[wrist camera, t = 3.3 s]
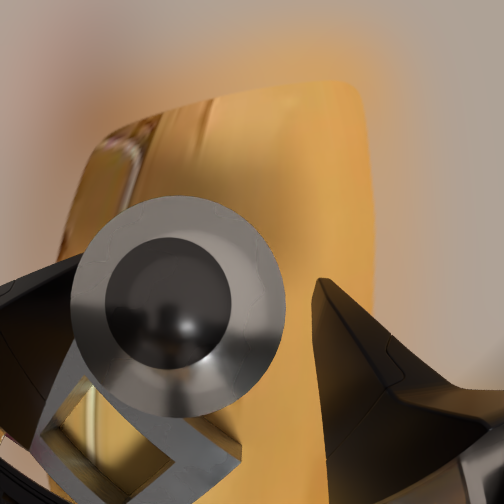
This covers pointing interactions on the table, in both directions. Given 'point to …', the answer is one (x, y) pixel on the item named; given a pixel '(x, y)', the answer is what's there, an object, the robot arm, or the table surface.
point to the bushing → (178, 306)
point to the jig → (152, 427)
